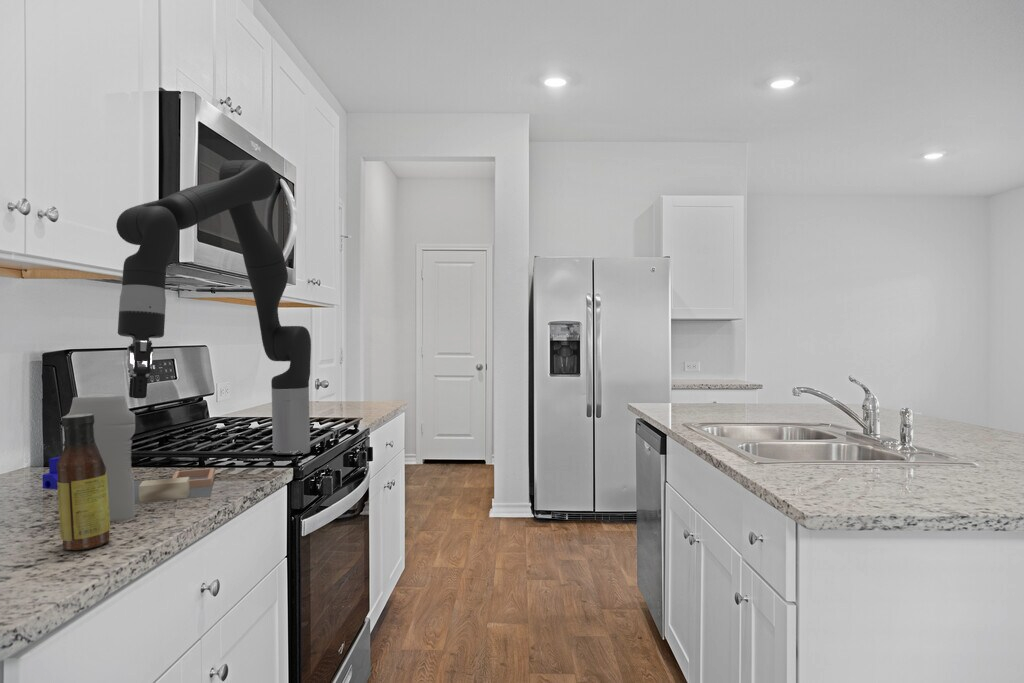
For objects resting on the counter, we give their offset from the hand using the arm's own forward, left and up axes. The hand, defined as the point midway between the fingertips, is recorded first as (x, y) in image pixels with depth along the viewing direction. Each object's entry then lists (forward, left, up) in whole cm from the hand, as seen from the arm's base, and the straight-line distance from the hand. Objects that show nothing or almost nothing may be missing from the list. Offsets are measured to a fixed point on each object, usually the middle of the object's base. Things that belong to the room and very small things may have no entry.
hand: (137, 397), depth 117 cm
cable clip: (-21, -15, -20) cm, 33 cm away
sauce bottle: (+22, -4, -20) cm, 30 cm away
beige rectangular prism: (-2, +4, -19) cm, 20 cm away
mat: (-9, +4, -20) cm, 22 cm away
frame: (-13, +8, -20) cm, 25 cm away
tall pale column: (+10, -4, -20) cm, 23 cm away
